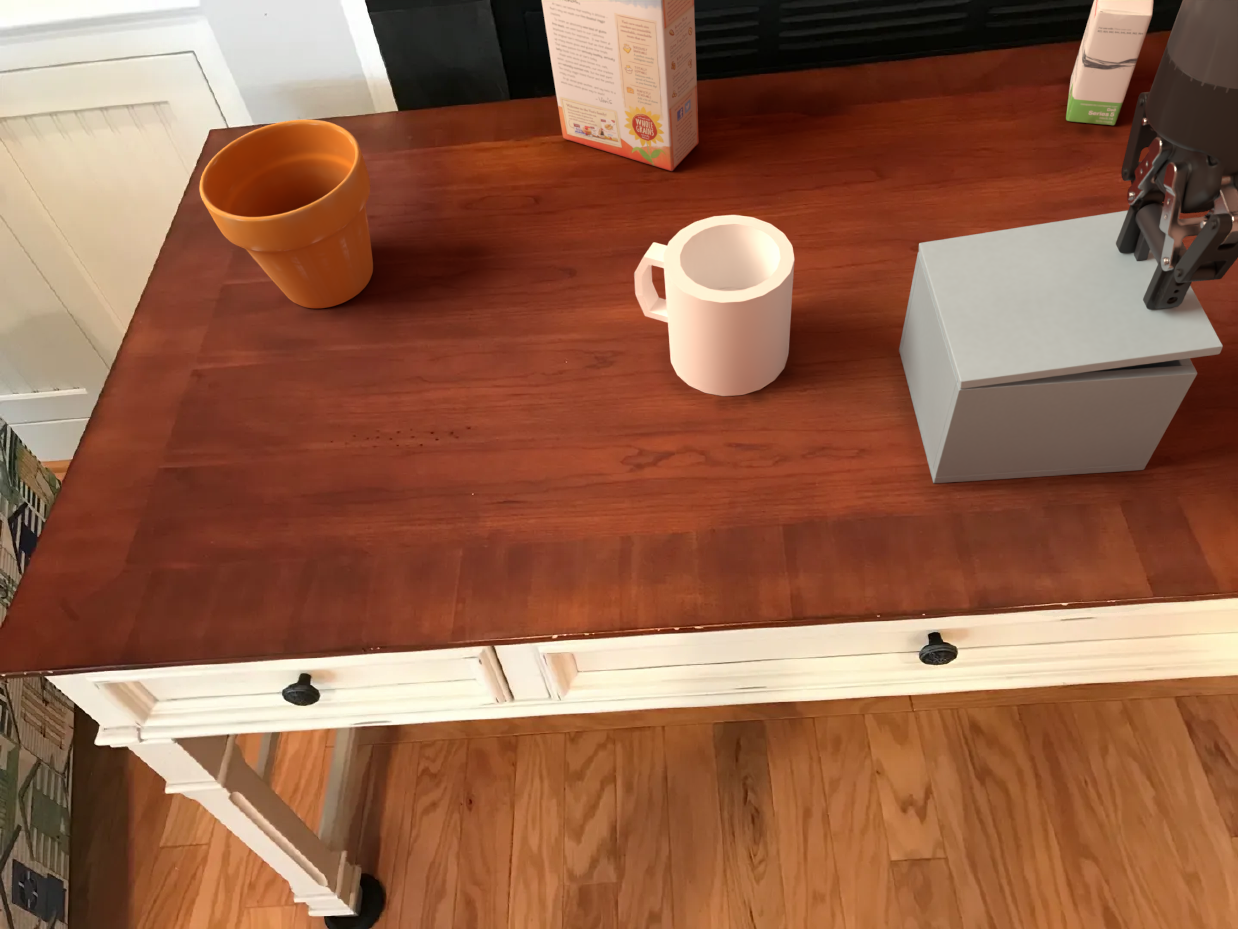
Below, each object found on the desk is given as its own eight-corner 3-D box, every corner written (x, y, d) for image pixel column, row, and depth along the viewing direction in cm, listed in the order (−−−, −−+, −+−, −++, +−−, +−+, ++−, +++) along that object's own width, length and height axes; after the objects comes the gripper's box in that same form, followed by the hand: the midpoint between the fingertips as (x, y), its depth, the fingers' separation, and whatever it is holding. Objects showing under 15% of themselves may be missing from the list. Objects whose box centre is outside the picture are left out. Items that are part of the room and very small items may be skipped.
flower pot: (235, 329, 93) (173, 219, 82) (282, 230, 101) (230, 119, 91) (379, 331, 91) (334, 218, 80) (414, 230, 99) (377, 116, 89)
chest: (1087, 336, 82) (1128, 234, 74) (1143, 470, 74) (1197, 373, 65) (898, 349, 83) (917, 251, 75) (933, 483, 75) (959, 389, 66)
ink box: (1115, 127, 99) (1155, 14, 89) (1063, 121, 100) (1097, 9, 91) (1120, 80, 103) (1158, -33, 94) (1070, 75, 105) (1102, -36, 95)
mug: (615, 365, 85) (602, 272, 77) (665, 289, 90) (658, 194, 82) (761, 410, 81) (764, 317, 72) (805, 328, 86) (813, 231, 77)
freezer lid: (1146, 215, 72) (1163, 156, 68) (1219, 354, 64) (1244, 296, 60) (918, 250, 75) (921, 195, 71) (959, 389, 66) (966, 335, 62)
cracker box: (701, 143, 103) (695, -62, 87) (671, 175, 101) (660, -30, 84) (592, 110, 109) (566, -88, 92) (561, 139, 106) (529, -59, 89)
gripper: (1376, 114, 50) (1243, 347, 63) (1260, -27, 58) (1164, 204, 72) (1222, 129, 50) (1122, 357, 64) (1130, -12, 59) (1059, 214, 72)
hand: (1145, 275), depth 68 cm, fingers closed on freezer lid, 5 cm apart
